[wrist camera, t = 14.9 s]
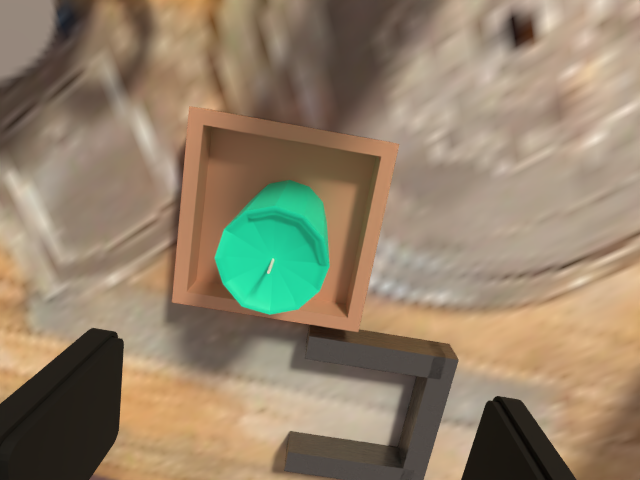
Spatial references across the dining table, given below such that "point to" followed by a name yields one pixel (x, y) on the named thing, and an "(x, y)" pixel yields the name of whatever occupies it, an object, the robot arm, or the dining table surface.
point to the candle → (276, 249)
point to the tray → (269, 167)
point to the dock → (421, 420)
